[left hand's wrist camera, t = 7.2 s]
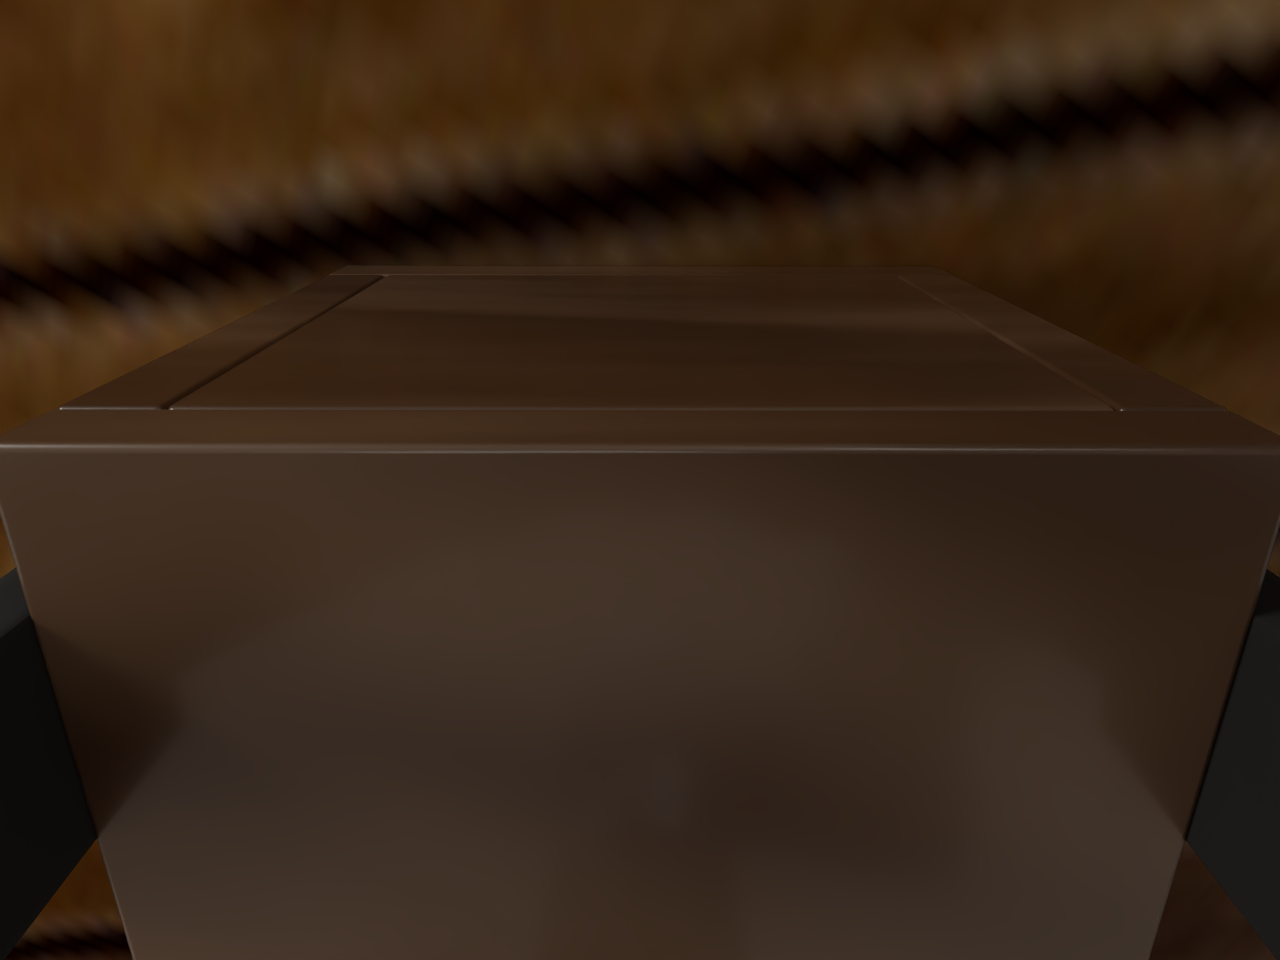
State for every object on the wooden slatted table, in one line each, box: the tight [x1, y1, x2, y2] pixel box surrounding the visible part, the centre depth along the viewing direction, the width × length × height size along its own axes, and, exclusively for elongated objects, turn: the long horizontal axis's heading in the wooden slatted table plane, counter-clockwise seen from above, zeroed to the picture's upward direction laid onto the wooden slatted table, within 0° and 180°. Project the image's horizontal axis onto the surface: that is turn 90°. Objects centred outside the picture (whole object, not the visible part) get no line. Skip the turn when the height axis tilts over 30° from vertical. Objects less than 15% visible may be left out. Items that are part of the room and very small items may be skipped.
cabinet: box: [0, 266, 1280, 960], centre depth 16 cm, size 21×11×10 cm, turn 0°
